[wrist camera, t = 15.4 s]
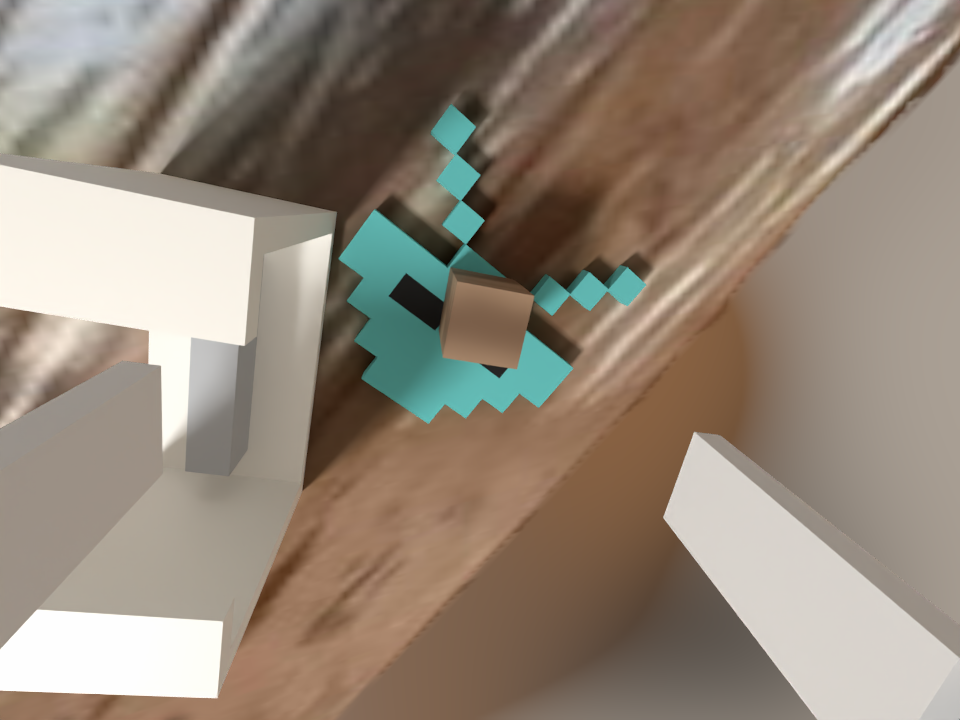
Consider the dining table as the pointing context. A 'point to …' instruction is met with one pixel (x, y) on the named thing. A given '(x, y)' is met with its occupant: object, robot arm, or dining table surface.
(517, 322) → the walnut block
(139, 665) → the box
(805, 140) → the dining table surface
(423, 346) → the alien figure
